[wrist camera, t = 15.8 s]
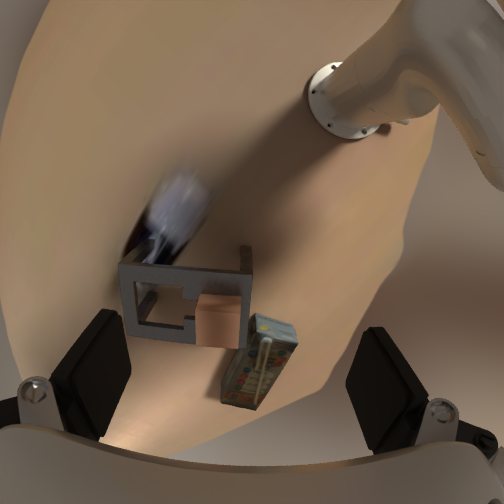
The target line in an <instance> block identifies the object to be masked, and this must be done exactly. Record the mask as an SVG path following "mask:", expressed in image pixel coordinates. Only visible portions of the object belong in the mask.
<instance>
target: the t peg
mask: <svg viewBox="0 0 504 504" xmlns="http://www.w3.org/2000/svg"><path fill="white" fill-rule="evenodd" d="M240 315H241V297H239V296H224V295H211V294H200V296H199V300H198V303H197V306H196V309H195V324H196V346H206V347H218V348H232V349H238V343H239V329H240Z"/></svg>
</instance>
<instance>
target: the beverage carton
mask: <svg viewBox="0 0 504 504" xmlns="http://www.w3.org/2000/svg"><path fill="white" fill-rule="evenodd" d="M297 345H298V340H297V337H296V332H295V329H294V328H293V325H292V324H289V323H285V322H282V321H278V320H275V319H272V318H269V317H266V316H263V315H260V314H256V313H255V314H254V316H253V318H252V320H251V323H250V325H249V327H248V332H247V342H246V348H238V350H237V352H236V353H235V355H234V357H233V359H232V362H231V363H230V366H229V368H228V370H227V372H226V374H225V376H224V378H223V381H222V382H221V403H222V404H227V405H232V406H236V407H240V408H246V409H250V410H255V411H256V409H257V408H258V407H259V406H260V404H261V402H262V401H263V399H264V398H265V396H266V395H267V393H268V392H269V390H270V389H271V387H272V386H273V384H274V382H275V381H276V379H277V378H278V376H279V375H280V373H281V371H282V370H283V368H284V366H285V365H286V363H287V361H288V360H289V358H290V356H291V354H292V353H293V352H294V350H295V348H296V347H297Z"/></svg>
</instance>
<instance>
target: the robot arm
mask: <svg viewBox="0 0 504 504" xmlns="http://www.w3.org/2000/svg"><path fill="white" fill-rule="evenodd" d="M497 2H498V4H499V5H500V7H501V8H502V10H503V11H504V0H497ZM332 68H333V69H334V70H333V69H332ZM312 92H314V93H315V94H312ZM308 103H309V106H310V109H311V111H312V114H313V116H314V117H315V119H316V120H317V121H318V123H319V124H320V125H321V126H322V127H323V128H324V129H326V130H327V131H329V132H330V133H332V134H334V135H336V136H338V137H341V138H345V139H359V138H364V137H366V136H369V135H371V134H372V133H374V132H375V131H376V130H377V129H378V128H379V127H380V125H381V124H383V123H389V122H397V123H400V124H403V125H407V124H408V123H409V119H413V118H418V117H422V116H424V115H426V114H428V113H430V112H431V111H432V110H433V109H434V108H435V107H436V106H437V105H438V104H439V103H440V105H441V106H442V107H443V109H444V110H445V112H446V113H447V115H448V116H449V117H450V118H451V120H452V121H453V123H454V124H455V126H456V128H457V129H458V131H459V132H460V134H461V136H462V137H463V139H464V141H465V143H466V144H467V146H468V148H469V150H470V151H471V153H472V155H473V157H474V159H475V160H476V162H477V164H478V166H479V168H480V170H481V171H482V173H483V175H484V176H485V178H486V179H487V180H488V181H489V183H490V184H491V185H493V186H494V187H495V188H496V189H498V190H500V191H502V192H504V20H503V19H502V18H501V16H500V15H499V14H498V13H497V11H496V10H495V9H494V8H493V7H492V6H491V5H490V4H489V3H488V1H487V0H401V1H400V3H399V4H398V6H397V7H396V9H395V10H394V12H393V13H392V15H391V16H390V18H389V19H388V20H387V22H386V23H385V24H384V25H383V26H382V27H381V28H380V29H379V30H378V31H377V32H376V33H375V34H374V35H373V36H372V37H371V38H370V39H369V40H367V41H366V42H365V43H364V44H363V45H362V46H360V47H359V48H358V49H357V50H356V51H355V52H353V53H352V54H351V55H350V56H349V57H348V58H347V59H346V60H344V61H343V62H335V63H330V64H328V65H326V66H323V67H322V68H321V69H319V70H318V71H317V72H316V73H315V75H314V76H313V78H312V79H311V81H310V84H309V87H308ZM328 124H329V125H330V127H328V126H327V125H328ZM362 131H363V134H362ZM130 375H131V363H130V358H129V354H128V349H127V344H126V339H125V334H124V328H123V322H122V317H121V315H118V313H117V311H115V310H109V309H101V310H100V312H99V313H98V314H97V315H96V316H95V318H94V319H93V320H92V321H91V323H90V324H89V325H88V326H87V328H86V329H85V330H84V332H83V333H82V334H81V335H80V337H79V338H78V339H77V341H76V342H75V343H74V344H73V346H72V347H71V348H70V350H69V351H68V352H67V354H66V355H65V356H64V358H63V359H62V360H61V362H60V363H59V365H58V366H57V367H56V369H55V370H54V372H53V373H52V374H51V377H50V379H49V380H47V379H46V378H44V377H39V376H35V377H30V378H27V379H26V380H24V381H23V382H22V383H21V384H20V385H19V388H18V390H17V396H16V397H13V398H9V399H5V400H2V401H0V504H504V448H503V447H502V446H501V447H500V448H498V442H497V439H496V437H495V435H494V434H492V433H491V432H490V431H488V430H485V429H482V428H480V427H476V426H474V425H471V424H469V423H466V422H464V421H461V420H459V412H458V409H457V408H456V406H455V405H454V404H453V403H452V402H450V401H448V400H446V399H443V398H435V399H433V400H431V401H430V402H429V400H428V398H427V397H428V396H429V395H428V393H427V391H426V390H425V388H424V387H423V385H422V383H421V382H420V380H419V379H418V377H417V376H416V374H415V373H414V371H413V370H412V368H411V367H410V365H409V364H408V362H407V361H406V360H405V358H404V356H403V355H402V353H401V352H400V350H399V349H398V347H397V346H396V344H395V343H394V342H393V340H392V339H391V337H390V336H389V334H388V333H387V332H386V330H385V329H384V328H383V327H369V328H368V329H367V331H364V332H363V335H362V338H361V341H360V344H359V346H358V349H357V352H356V355H355V358H354V360H353V363H352V366H351V368H350V371H349V373H348V376H347V378H346V389H347V392H348V394H349V397H350V400H351V402H352V405H353V408H354V410H355V413H356V416H357V418H358V421H359V424H360V427H361V429H362V432H363V435H364V438H365V441H366V443H367V446H368V449H369V450H372V451H373V454H374V455H372V456H366V457H361V458H355V459H349V460H343V461H336V462H327V463H318V464H308V465H293V466H231V465H217V464H206V463H197V462H188V461H181V460H174V459H168V458H163V457H157V456H152V455H147V454H143V453H138V452H134V451H130V450H126V449H122V448H118V447H114V446H110V445H107V444H103V443H100V442H98V441H99V439H100V437H104V436H105V434H106V431H107V429H108V426H109V424H110V421H111V419H112V417H113V414H114V412H115V409H116V407H117V405H118V402H119V400H120V398H121V396H122V393H123V391H124V389H125V386H126V384H127V382H128V380H129V377H130Z"/></svg>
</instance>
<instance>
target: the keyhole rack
mask: <svg viewBox="0 0 504 504" xmlns="http://www.w3.org/2000/svg"><path fill="white" fill-rule="evenodd" d="M153 249H154V239H145V240H143V241H142V242H141V243H140V244H139V245H138V246H137V247H136V248H134V249H133V250H132V251H131V252H130V253H129V254H128V255H127V256H126V257H125V258H123V259H122V260H121V261H120V262H119V263H118V272H119V281H120V290H121V298H122V305H123V312H124V318H125V324H126V330H127V335H130V336H136V337H142V338H149V339H156V340H163V341H171V342H179V343H188V344H196V324H195V316H188V315H185V317H184V326H178V325H170V324H162V323H154V322H146V319H147V317H148V315H149V313H150V312H151V310H152V308H153V306H154V304H155V303H156V301H157V294H156V292H148V293H147V294H146V296H145V297H144V299H143V301H142V302H141V304H140V305H139V306H138V297H137V287H136V282H144V283H153V284H163V285H173V286H183V299H186V300H196V301H198V300H199V296H200V294H211V295H224V296H239V297H241V315H240V329H239V343H238V348H246V342H247V332H248V321H249V311H250V300H251V290H252V279H253V269H252V251H251V246H241V261H240V271H233V270H220V269H207V268H194V267H182V266H170V265H159V264H148V263H141V262H142V261H143V260H144V259H145V258H146V257H147V256H148V254H149V253H150V252H151V251H152V250H153Z"/></svg>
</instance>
